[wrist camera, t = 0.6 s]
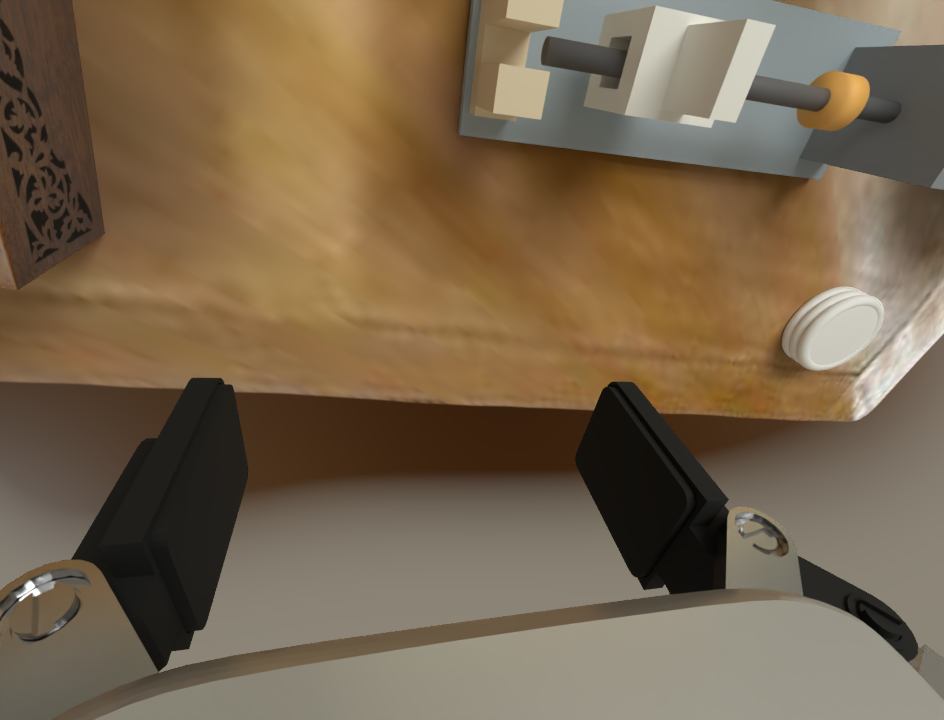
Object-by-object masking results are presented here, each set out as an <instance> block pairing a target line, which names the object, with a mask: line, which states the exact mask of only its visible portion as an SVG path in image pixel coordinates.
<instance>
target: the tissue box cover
mask: <svg viewBox="0 0 944 720" xmlns="http://www.w3.org/2000/svg"><path fill="white" fill-rule="evenodd" d="M104 233H105V232H104V225H103V218H102V211H101V203H100V196H99V189H98V182H97V175H96V168H95V161H94V154H93V147H92V140H91V133H90V126H89V119H88V112H87V104H86V97H85V90H84V83H83V76H82V69H81V62H80V55H79V48H78V41H77V34H76V27H75V20H74V12H73V5H72V0H0V288H7V289H13V290H18V289H20V288H22V287H23V286H25V285H26V284H28V283H29V282H31V281H32V280H34V279H35V278H37V277H38V276H40V275H41V274H43V273H45V272H46V271H48V270H49V269H51V268H52V267H54V266H55V265H57V264H58V263H60V262H61V261H63V260H64V259H66V258H68V257H69V256H71V255H72V254H74V253H75V252H77V251H78V250H80V249H81V248H83V247H84V246H86V245H87V244H89V243H91V242H92V241H94V240H95V239H97V238H98V237H100V236H101V235H103V234H104Z"/></svg>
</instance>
